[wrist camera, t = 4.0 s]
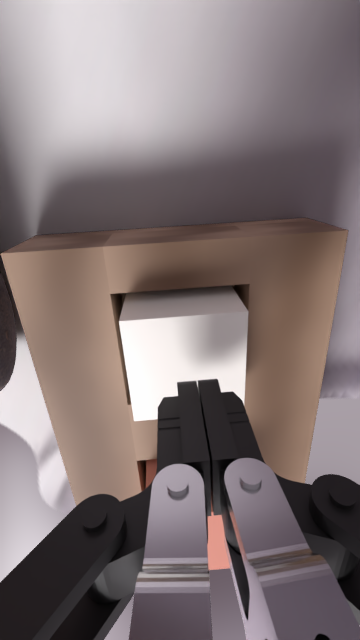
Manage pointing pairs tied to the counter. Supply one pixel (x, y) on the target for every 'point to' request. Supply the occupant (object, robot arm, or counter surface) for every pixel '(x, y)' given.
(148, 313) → the key white
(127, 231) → the frame
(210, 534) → the salmon pink block
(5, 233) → the counter surface
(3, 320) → the perforated stone tool
